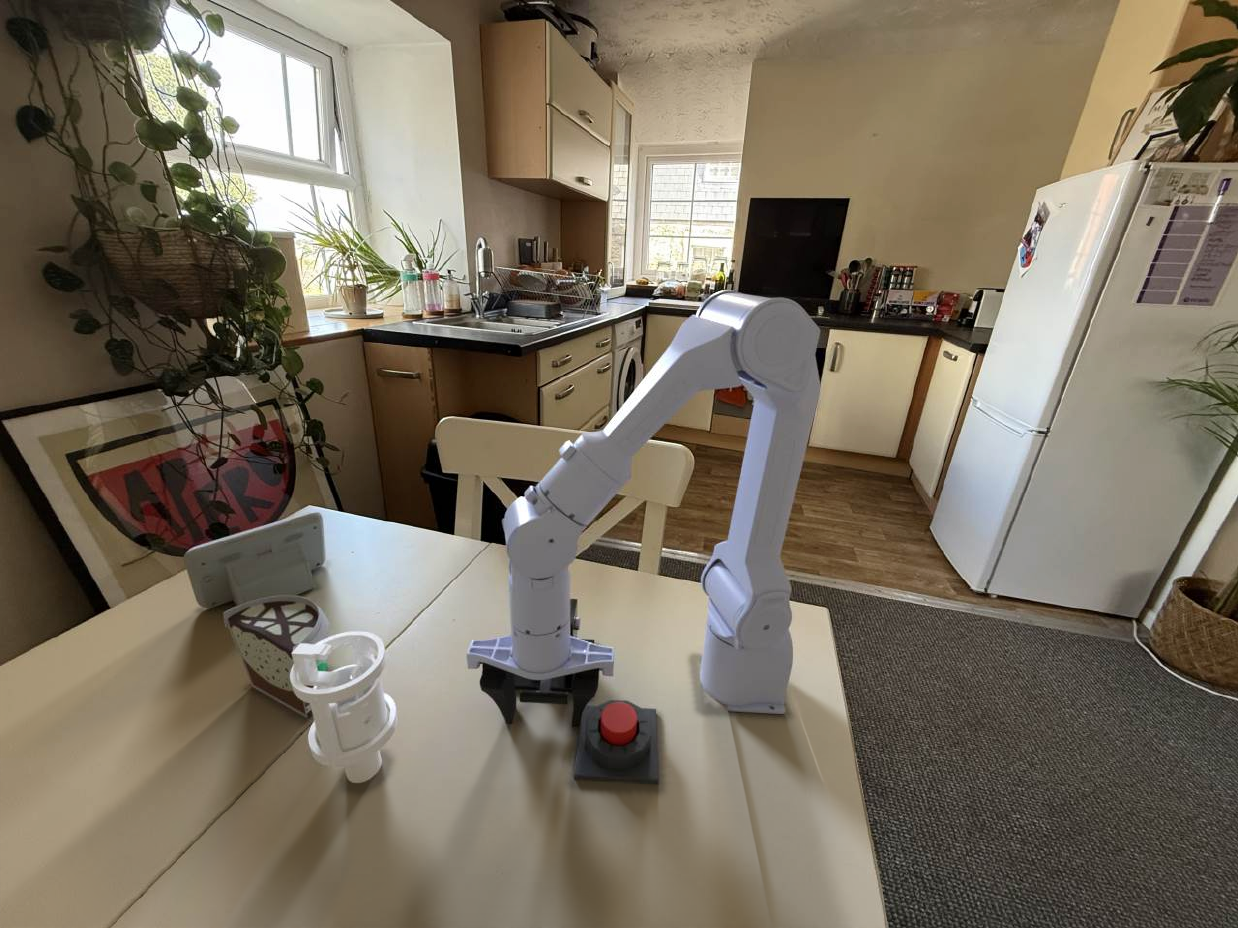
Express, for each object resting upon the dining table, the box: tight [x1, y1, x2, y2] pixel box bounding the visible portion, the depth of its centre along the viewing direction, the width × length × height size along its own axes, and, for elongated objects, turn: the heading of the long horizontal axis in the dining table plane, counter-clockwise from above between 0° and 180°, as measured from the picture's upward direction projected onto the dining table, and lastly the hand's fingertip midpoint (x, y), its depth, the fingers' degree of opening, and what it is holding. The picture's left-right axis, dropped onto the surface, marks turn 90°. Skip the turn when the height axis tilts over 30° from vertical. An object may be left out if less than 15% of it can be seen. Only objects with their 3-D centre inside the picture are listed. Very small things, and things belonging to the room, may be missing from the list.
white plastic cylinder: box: [290, 630, 398, 784], centre depth 44 cm, size 7×7×15 cm
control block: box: [573, 699, 660, 785], centre depth 50 cm, size 8×8×3 cm
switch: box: [519, 678, 569, 706], centre depth 55 cm, size 10×5×2 cm
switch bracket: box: [514, 598, 595, 694], centre depth 58 cm, size 8×9×9 cm
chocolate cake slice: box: [222, 595, 330, 719], centre depth 55 cm, size 12×6×10 cm, turn 65°
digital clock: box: [183, 511, 327, 609], centre depth 69 cm, size 16×9×11 cm, turn 127°
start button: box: [601, 702, 637, 746], centre depth 49 cm, size 4×4×2 cm
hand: (543, 717), depth 53 cm, fingers open, 6 cm apart
